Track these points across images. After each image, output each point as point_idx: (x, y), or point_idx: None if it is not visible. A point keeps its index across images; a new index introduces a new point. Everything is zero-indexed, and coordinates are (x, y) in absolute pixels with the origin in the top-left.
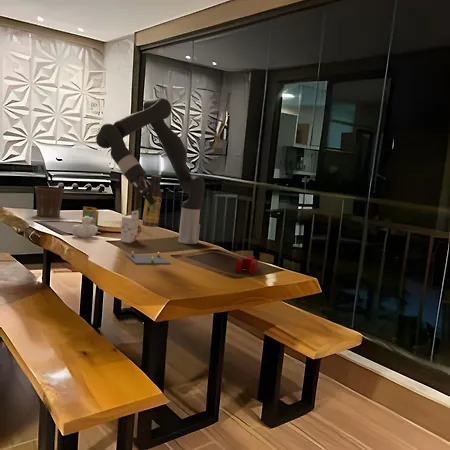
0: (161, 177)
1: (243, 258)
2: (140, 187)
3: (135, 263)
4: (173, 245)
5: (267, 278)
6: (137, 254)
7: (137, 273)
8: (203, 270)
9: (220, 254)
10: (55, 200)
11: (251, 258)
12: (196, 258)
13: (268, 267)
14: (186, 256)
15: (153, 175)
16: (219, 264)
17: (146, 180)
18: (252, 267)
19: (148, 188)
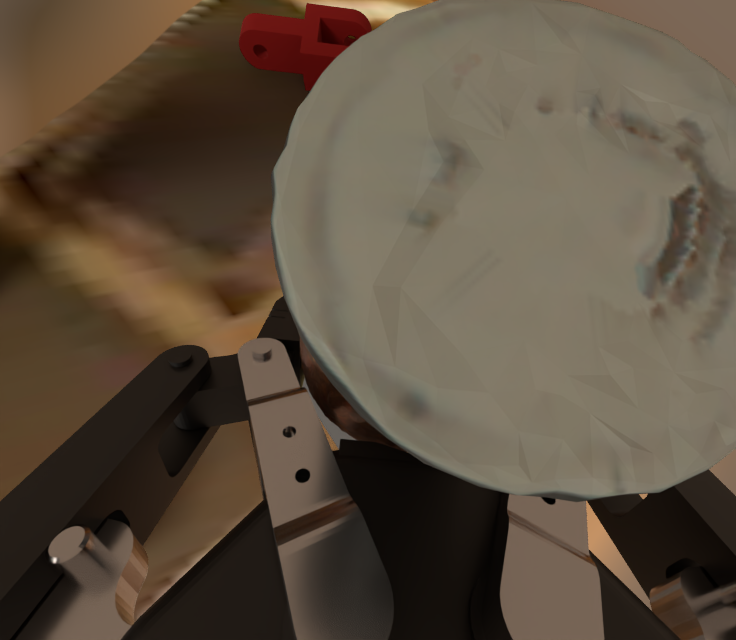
0: (467, 28)
1: (315, 43)
2: (723, 506)
3: None
4: (15, 357)
5: (376, 19)
6: (323, 422)
7: None
8: None
9: (104, 159)
10: None
11: (297, 20)
12: (232, 225)
13: (230, 13)
14: (219, 262)
15: (705, 332)
16: (281, 146)
17: (394, 624)
18: (370, 31)
19: (386, 454)
